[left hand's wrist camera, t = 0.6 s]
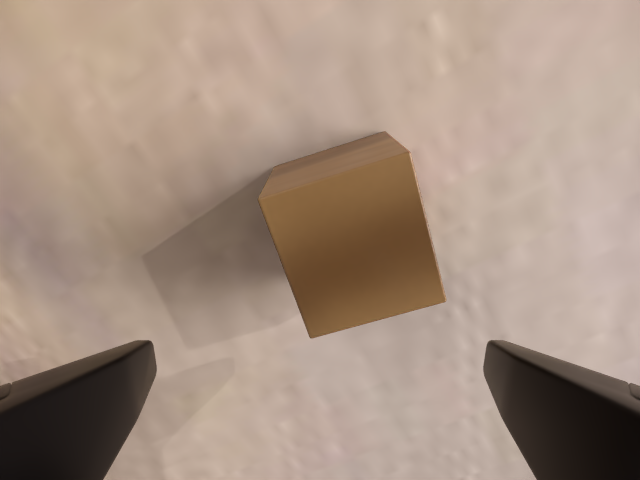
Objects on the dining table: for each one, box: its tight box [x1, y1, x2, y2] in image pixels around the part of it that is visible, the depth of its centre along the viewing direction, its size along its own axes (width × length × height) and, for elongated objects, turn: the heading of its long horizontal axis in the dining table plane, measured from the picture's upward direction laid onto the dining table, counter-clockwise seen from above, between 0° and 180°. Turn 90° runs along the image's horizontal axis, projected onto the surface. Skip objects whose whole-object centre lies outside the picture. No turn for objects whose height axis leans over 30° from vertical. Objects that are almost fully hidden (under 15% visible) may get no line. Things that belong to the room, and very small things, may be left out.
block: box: [258, 131, 446, 338], centre depth 16 cm, size 5×5×5 cm
